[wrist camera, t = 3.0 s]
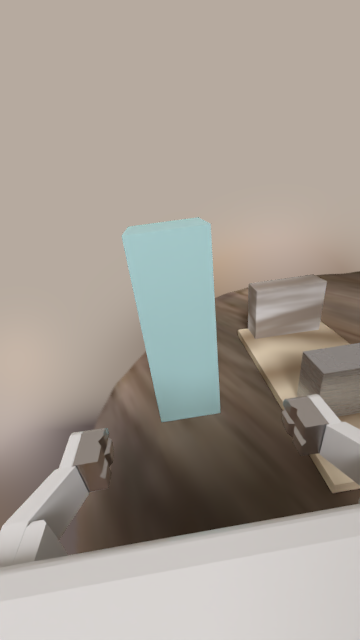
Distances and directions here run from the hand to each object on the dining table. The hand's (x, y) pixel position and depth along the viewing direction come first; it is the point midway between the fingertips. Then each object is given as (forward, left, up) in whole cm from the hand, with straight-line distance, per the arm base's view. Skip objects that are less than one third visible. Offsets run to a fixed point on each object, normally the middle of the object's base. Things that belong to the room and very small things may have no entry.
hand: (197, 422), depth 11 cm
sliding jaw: (-16, +6, -9) cm, 19 cm away
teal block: (-9, -8, -11) cm, 16 cm away
